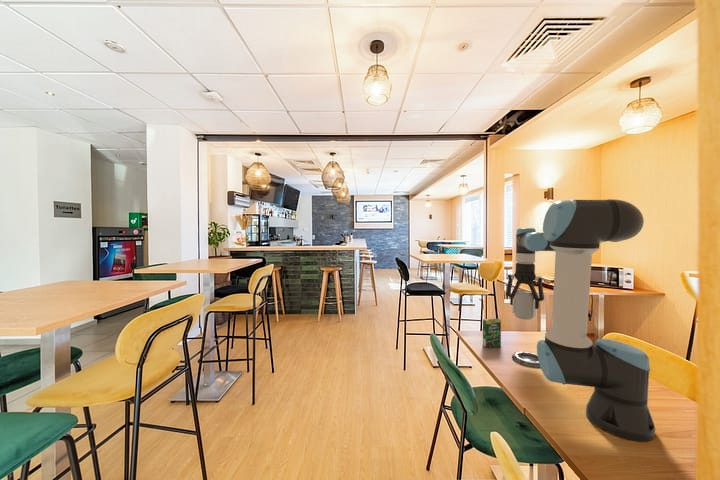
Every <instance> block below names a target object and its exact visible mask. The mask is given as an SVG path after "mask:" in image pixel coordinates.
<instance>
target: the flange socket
mask: <svg viewBox="0 0 720 480" xmlns="http://www.w3.org/2000/svg"><path fill="white" fill-rule="evenodd" d="M511 359H512V360H513V362H515V363H517V364H519V365H521V366H524V367H528V368H533V369H534V368H535V369H541V367H540V364H539V360H538V355H537V353H534V352H529V351H517V352H514V353H513V354H511Z"/></svg>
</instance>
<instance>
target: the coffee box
mask: <svg viewBox="0 0 720 480" xmlns="http://www.w3.org/2000/svg"><path fill="white" fill-rule="evenodd" d="M501 342H502V320H501V319H499V318H488V319H487V318H486V319H482V346H483V347H484V348H485V349H487V348H488V349H489V348H491V349H492V348H501V347H502V343H501Z"/></svg>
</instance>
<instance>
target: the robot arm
mask: <svg viewBox="0 0 720 480" xmlns="http://www.w3.org/2000/svg"><path fill="white" fill-rule="evenodd" d="M644 221H645V220H644V214H642V212H641V210H640V209H639V207H636V206H635V205H634V204H632V203H630V202H628V201H625V200H622V199H613V198H612V199H611V198H610V199H609V198H608V199H566V200H557V201H555V202H553V203H552V204H550V205H549V207H548V209H547V211H546V213H545V215H544V219H543V223H542V232H536V228H535V227H519V228H517V229H516V234H515V247H516V248H515V271H514V272H515V273H513V274H511V273H510V274H508V275H507V279H508V281H507V285H506V286H507V287H506V292H505V296H507V297H509V299H510V302H509V303H510V304H509V305H511V306H512V312H511V313H512V314H515V293H516V292H517V290H519V289H520V286H521V285H522V284H525V285H528V287H529V290H530V291H531V292H532V294H533V297H534V301H533V316H534V317H533V318H535V317H536V316H537V310H538V309H539V308H540V302H543V301H544V300H545V294H544V289H543V280H544V277H542V276H537V274H536V265H535V263H536V252H555V256H554V258H555V259H554V276H553V277H554V278H553V280H554V281H553V291H552V293H553V294H552V313H551V329H550V330H548V331H547V332H545V334H544V339H541V340H537V341H538V342H537V344H536V354H537V355H538V360H539V364H540V367H541V368H540V369H541V372H542V374H543V376H544V377H545V378H546V379H547V380H548V381H550V382H552V383H553V382H554V383H557V384H562V385H573V386H574V385H575V386H582V387H592V388H593V391H592V393H591V396H590V398H589V399H588V401H587V404H586V407H585V411H586V412H585V415H586V417H587V419H588V420H589V421H590V422H591V423H592V424H594V426H596V427H598V429H599V428H600V429H601V430H603V431H604V432H607V433H608V434H610V435H614V436H616V437H619V438H621V439H626V440H629V441H633V442H650V441H652V440H654V439H655V438H656V427H655V423H654V421H653V417H652V414H651V412H650V409H649V405H648V401H649V400H648V398H649V384H650V383H649V382H650V381H649V379H650V372H651V367H650V358H649V356H648V354H647V353H646V352H644V351H643V350H641V349H639V348H638V347H635V346H634V345H630V344H628V343H625V342H621V341H617V340H614V339H608V338H598V339H596V341H595V342H593V340H591V339H590V338H589V337H588V336H587V334H588V320H589V304H590V303H589V302H590V289H591V273H592V263H593V262H592V260H593V255H594V253H595V252H597V251H598V250H600V245H601V244H602V243H606V242H611V243H612V242H613V243H617V242H623V241H627V240H630V239H632V238H634V237H636V236H637V235H638V234H639V233H640V232H641V231H642V229H643V227H644ZM514 279H516V280H517V281H516V282H515V285H514V287H513V289H512V286H513V282H514V281H513V280H514ZM534 280H535V281H536V282H537V288H538V289H537V290H538V292H537V291H536V288H535V285H534V282H533V281H534ZM594 343H595V344H594Z"/></svg>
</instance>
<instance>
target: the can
mask: <svg viewBox="0 0 720 480" xmlns="http://www.w3.org/2000/svg"><path fill="white" fill-rule="evenodd" d="M514 298H515V313H514V316H515V317H516V318H517V319H520V320H532V319H533V318H535V317H534V316H533V301H534V300H535V299H534V297H533V294H532V292H531V290H524V289H518V290H517V292H516V293H515V297H514Z"/></svg>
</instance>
